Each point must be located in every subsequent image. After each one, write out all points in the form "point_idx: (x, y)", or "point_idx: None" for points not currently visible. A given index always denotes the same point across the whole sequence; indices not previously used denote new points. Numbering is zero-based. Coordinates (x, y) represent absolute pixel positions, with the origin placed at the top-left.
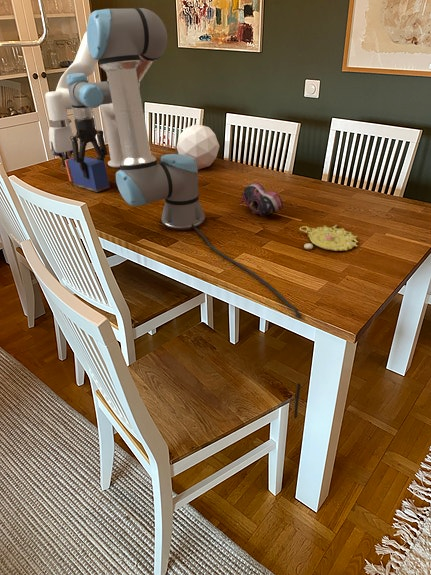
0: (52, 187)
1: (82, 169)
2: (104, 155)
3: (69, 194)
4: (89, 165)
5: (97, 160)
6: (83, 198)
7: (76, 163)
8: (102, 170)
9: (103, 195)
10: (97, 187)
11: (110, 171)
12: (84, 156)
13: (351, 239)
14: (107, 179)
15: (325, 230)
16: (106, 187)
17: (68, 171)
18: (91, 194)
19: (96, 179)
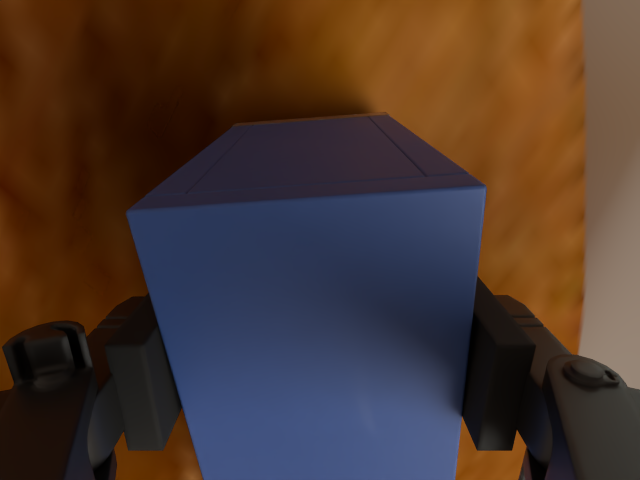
0: (502, 456)
1: (518, 307)
2: (2, 396)
3: (530, 273)
4: (480, 234)
5: (210, 360)
6: (532, 102)
7: None
8: (251, 159)
9: (370, 21)
10: (374, 119)
11: None
12: (578, 463)
13: None
14: (228, 135)
15: None
16: (271, 122)
17: None
18: (425, 137)
19: (378, 131)
